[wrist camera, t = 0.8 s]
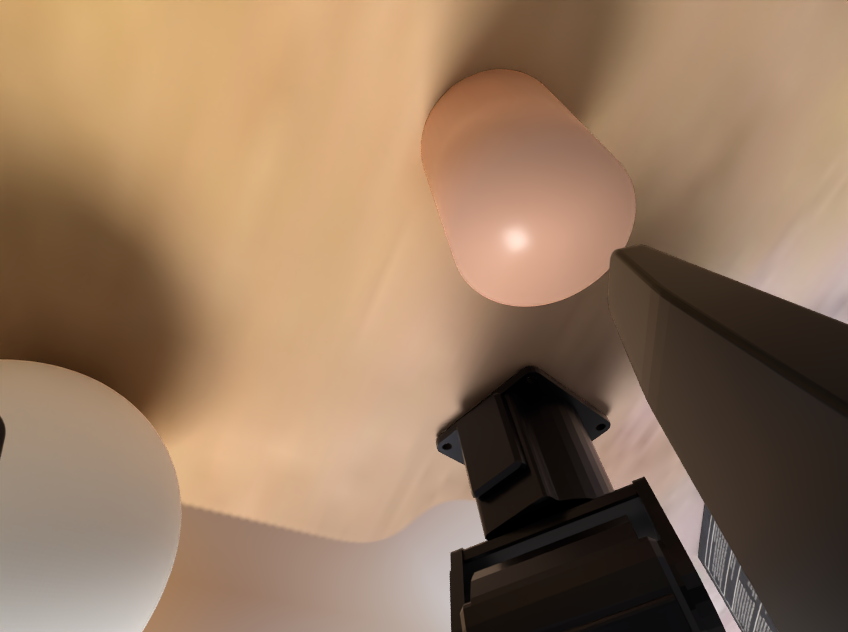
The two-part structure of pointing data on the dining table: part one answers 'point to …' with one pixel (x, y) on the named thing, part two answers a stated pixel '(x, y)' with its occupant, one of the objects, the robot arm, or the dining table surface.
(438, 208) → the peach rounded cylinder
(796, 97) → the dining table surface
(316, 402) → the dining table surface
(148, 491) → the decorative ball
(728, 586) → the small box
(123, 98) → the dining table surface
